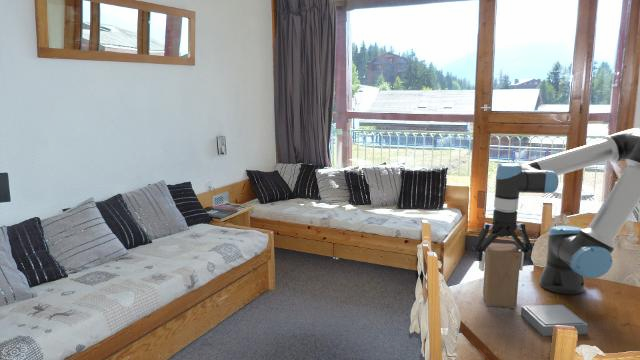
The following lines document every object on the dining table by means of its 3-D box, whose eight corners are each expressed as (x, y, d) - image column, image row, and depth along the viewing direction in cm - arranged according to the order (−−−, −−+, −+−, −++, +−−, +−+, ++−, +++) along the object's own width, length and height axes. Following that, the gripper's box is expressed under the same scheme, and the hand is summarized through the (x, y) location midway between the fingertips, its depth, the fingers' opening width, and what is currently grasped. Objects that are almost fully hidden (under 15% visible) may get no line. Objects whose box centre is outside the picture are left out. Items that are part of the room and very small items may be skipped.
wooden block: (516, 309, 166) (521, 252, 162) (485, 306, 168) (489, 250, 164) (511, 297, 176) (515, 243, 172) (482, 294, 178) (485, 241, 174)
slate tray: (561, 313, 163) (562, 303, 163) (587, 333, 150) (588, 324, 149) (520, 314, 162) (521, 305, 162) (543, 335, 149) (543, 325, 148)
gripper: (535, 206, 170) (530, 264, 174) (465, 207, 168) (461, 266, 172) (547, 212, 163) (540, 272, 167) (473, 212, 161) (469, 274, 165)
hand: (500, 269), depth 170 cm, fingers open, 13 cm apart
